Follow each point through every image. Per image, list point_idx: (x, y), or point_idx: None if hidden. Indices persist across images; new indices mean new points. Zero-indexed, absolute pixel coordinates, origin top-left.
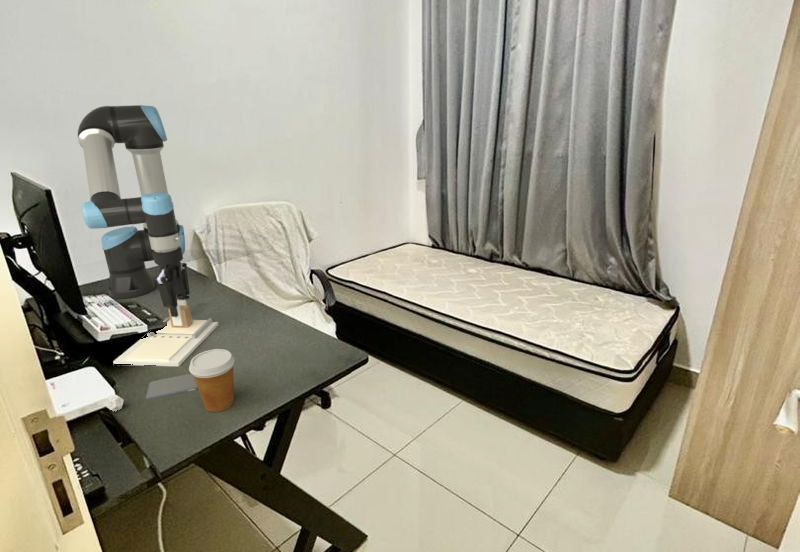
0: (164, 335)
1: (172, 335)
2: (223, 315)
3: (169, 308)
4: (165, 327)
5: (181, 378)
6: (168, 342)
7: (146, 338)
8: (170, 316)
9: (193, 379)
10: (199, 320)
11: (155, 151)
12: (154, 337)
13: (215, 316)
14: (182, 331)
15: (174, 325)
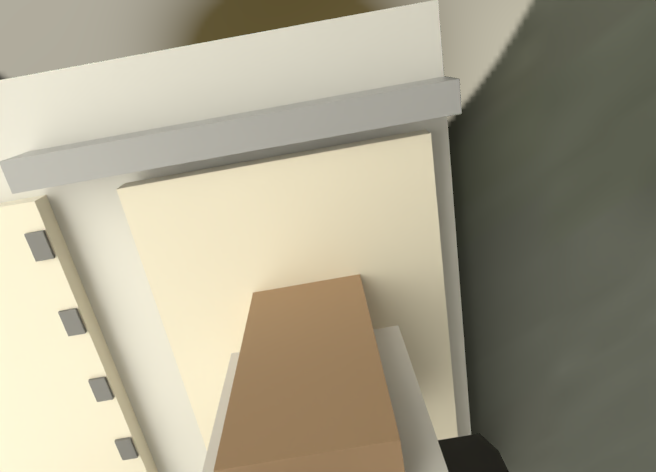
0: (140, 276)
1: (167, 345)
2: (640, 438)
3: (253, 469)
4: (231, 227)
5: None
6: (17, 432)
7: (12, 143)
8: (236, 389)
9: None
10: (448, 431)
11: None
12: (27, 253)
13: (621, 394)
14: (210, 433)
15: (233, 362)
